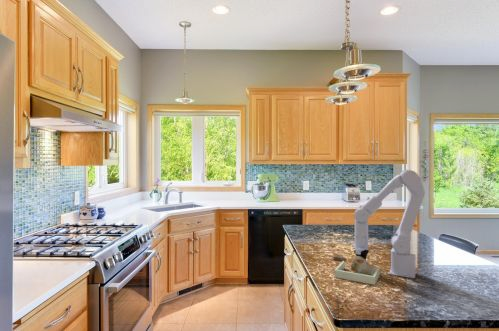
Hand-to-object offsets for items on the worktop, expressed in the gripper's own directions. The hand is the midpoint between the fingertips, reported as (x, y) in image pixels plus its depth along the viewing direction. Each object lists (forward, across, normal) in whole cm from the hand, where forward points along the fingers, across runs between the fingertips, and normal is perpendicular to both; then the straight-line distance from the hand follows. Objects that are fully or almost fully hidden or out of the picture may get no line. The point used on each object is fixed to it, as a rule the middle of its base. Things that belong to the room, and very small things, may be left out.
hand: (361, 266), depth 131 cm
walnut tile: (+2, -9, -13) cm, 16 cm away
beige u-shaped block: (+1, +8, 0) cm, 8 cm away
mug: (+1, +5, +2) cm, 6 cm away
